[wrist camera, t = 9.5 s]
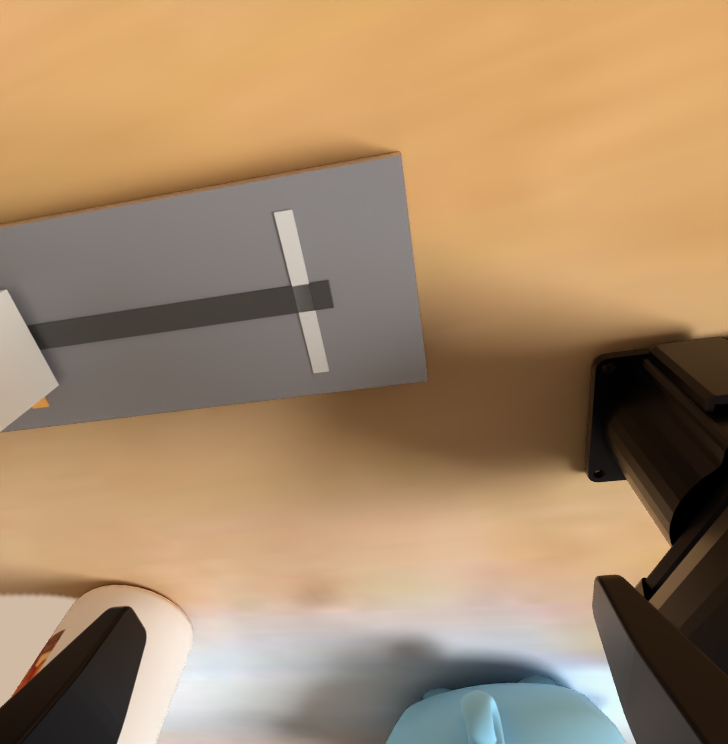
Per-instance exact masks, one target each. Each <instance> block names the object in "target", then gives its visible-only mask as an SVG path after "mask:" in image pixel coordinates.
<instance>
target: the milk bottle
mask: <svg viewBox="0 0 728 744" xmlns="http://www.w3.org/2000/svg"><path fill="white" fill-rule="evenodd" d="M117 606H130V607H132V608H133V610H134V611H135V613H136V614H137V616H138V618H139V619H140V621H141V623H142V624H143V626H144V627H145V629H146V633H147V639H146V645H145V648H144V652H143V656H142V659H141V663H140V667H139V671H138V674H137V678H136V682H135V685H134V689H133V693H132V696H131V700H130V704H129V707H128V711H127V714H126V718H125V721H124V724H123V728H122V731H121V733H120V736H119V739H118V742H117V744H156V741H157V738H158V736H159V733H160V730H161V728H162V725H163V722H164V720H165V717H166V715H167V712H168V709H169V707H170V704H171V701H172V699H173V696H174V694H175V691H176V688H177V686H178V683H179V680H180V678H181V675H182V672H183V670H184V667H185V664H186V662H187V659H188V656H189V653H190V650H191V647H192V644H193V628H192V626H191V622H190V620H189V619H188V617H187V615H186V614H185V613H184V612H183V611H182V610H181V609H180V608H179V607H178V606H177V605H175V604H174V603H173V602H172V601H170V600H168V599H166V598H165V597H163V596H161V595H159V594H157V593H154V592H152V591H150V590H146V589H142V588H139V587H133V586H127V585H109V586H102V587H98V588H94V589H92V590H91V591H89V592H87V593H85V594H84V595H82V596H81V597H80V598H79V599H77V600H76V601H75V602H74V604H73V605H72V607H71V608H70V609H69V611H68V612H67V614H66V615H65V616H64V618H63V619H62V621H61V622H60V624H59V625H58V627H57V628H56V630H55V632H54V633H53V635H52V636H51V638H50V639H49V641H48V642H47V644H46V645H45V647H44V648H43V650H42V651H41V653H40V654H39V656H38V657H37V659H36V660H35V662H34V663H33V665H32V666H31V668H30V669H29V671H28V672H27V674H26V675H25V677H24V678H23V680H22V681H21V683H20V685H19V686H18V688H17V689H16V691H15V692H14V694H13V695H15V694H16V693H17V692H18V691H19V690H20V689H21V688H22V687H23V686H24V685H25V684H26V683H28V682H29V681H30V680H31V679H32V678H33V677H34V676H35V675H36V674H37V673H38V672H39V671H41V670H42V669H43V668H44V667H45V666H46V665H47V664H48V663H49V662H50V661H51V660H52V659H54V658H55V657H56V656H57V655H58V654H59V653H60V652H61V651H62V650H63V649H64V648H65V647H67V646H68V645H69V644H70V643H71V642H72V641H73V640H74V639H75V638H76V637H77V636H78V635H80V634H81V633H82V632H83V631H84V630H85V629H86V628H87V627H88V626H89V625H90V624H91V623H93V622H94V621H95V620H96V619H97V618H98V617H99V616H100V615H101V614H102V613H103V612H105V611H106V610H107V609H109V608H111V607H117ZM13 695H12V696H13Z"/></svg>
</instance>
